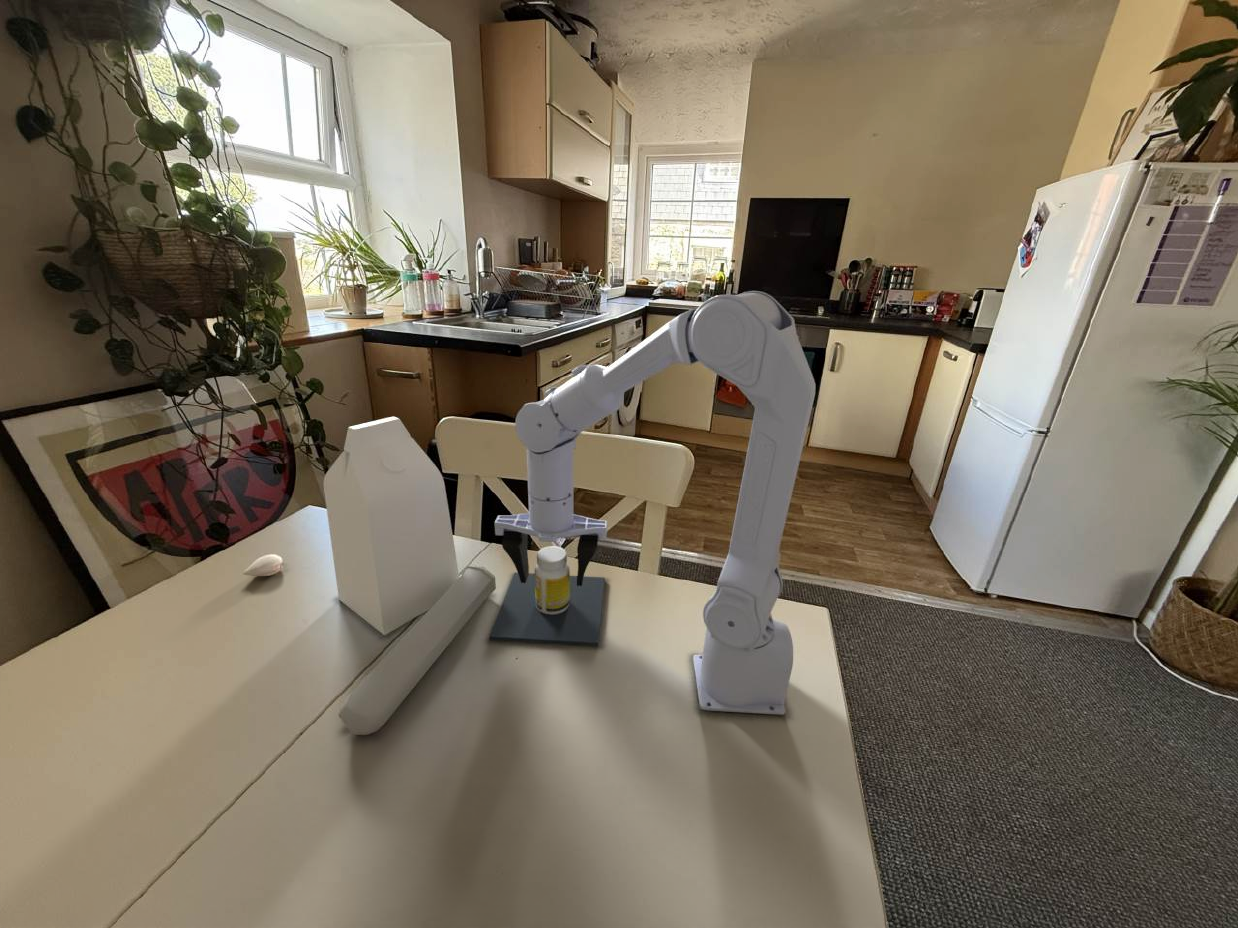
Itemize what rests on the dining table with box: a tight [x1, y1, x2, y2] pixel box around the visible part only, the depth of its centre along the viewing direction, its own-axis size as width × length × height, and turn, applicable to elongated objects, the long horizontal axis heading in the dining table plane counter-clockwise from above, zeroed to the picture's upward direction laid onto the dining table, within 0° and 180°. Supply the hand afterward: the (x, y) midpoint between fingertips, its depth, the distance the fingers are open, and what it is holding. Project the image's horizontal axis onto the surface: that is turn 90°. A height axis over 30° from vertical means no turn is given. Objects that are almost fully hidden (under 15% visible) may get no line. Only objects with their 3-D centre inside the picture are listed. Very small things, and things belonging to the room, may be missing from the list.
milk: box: [323, 415, 460, 636], centre depth 66 cm, size 12×12×26 cm
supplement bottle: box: [534, 545, 571, 615], centre depth 68 cm, size 5×5×8 cm
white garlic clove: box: [243, 553, 284, 577], centre depth 74 cm, size 4×5×2 cm
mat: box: [489, 572, 606, 647], centre depth 70 cm, size 14×14×1 cm
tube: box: [338, 563, 497, 736], centre depth 60 cm, size 5×5×25 cm
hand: (552, 580), depth 68 cm, fingers open, 7 cm apart
